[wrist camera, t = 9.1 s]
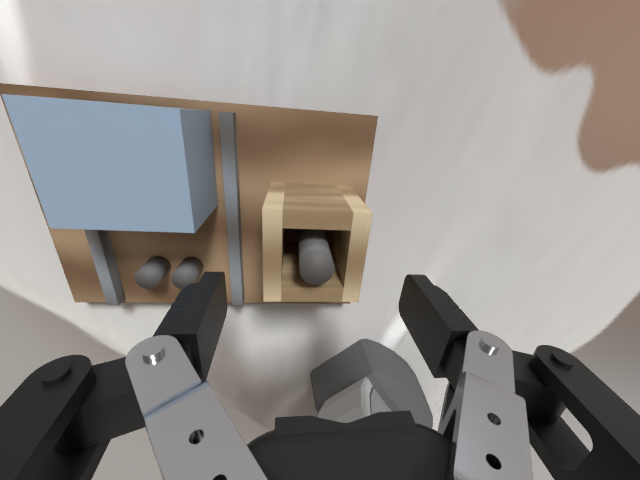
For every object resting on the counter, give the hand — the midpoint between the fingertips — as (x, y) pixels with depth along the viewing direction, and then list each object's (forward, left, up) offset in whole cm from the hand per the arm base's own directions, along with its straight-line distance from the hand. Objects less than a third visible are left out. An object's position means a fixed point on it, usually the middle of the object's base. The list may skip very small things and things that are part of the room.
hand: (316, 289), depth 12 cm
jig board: (0, -7, -11) cm, 13 cm away
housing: (-4, -10, -9) cm, 14 cm away
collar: (0, 0, -9) cm, 9 cm away
